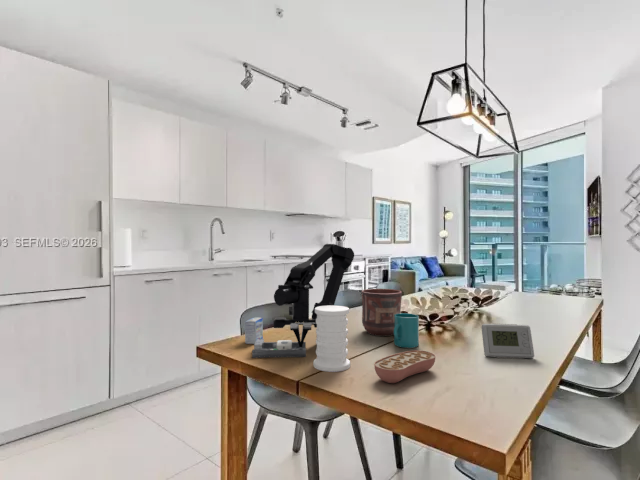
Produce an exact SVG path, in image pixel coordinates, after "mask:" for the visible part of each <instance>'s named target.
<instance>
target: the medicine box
mask: <svg viewBox="0 0 640 480" xmlns="http://www.w3.org/2000/svg"><path fill="white" fill-rule="evenodd" d="M263 322H264V318H263V317H258V316H257V317H255V316H254V317H252V318H249V319H248V320H246V321H244V340H245V341H244V342H245V343H244V344H247V345H254V344H255V342H256V340H257V339H264V336H263V335H264V333H263V331H264V326H263V325H264V323H263Z"/></svg>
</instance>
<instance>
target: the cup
mask: <svg viewBox="0 0 640 480" xmlns="http://www.w3.org/2000/svg"><path fill="white" fill-rule="evenodd" d="M419 320H420V317H419V315H418V314H415V313H407V312H404V313H403V312H401V313H399V314H395V315H394V335H393V338H394V339H393V340H394V341H393V343H394V345H395V346H396V347H399V348H403V349H404V348H405V349H413V348H417V347H418V346H419V345H420V343H419V342H420V336H419V335H420V330H419V327H420V326H419V323H420V321H419Z"/></svg>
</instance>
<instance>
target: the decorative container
mask: <svg viewBox="0 0 640 480" xmlns="http://www.w3.org/2000/svg"><path fill="white" fill-rule="evenodd" d="M315 313H316V314H317V319H316V324H317V328H316V329H315V335H316V339H315V345H316V349H315V354H316V358H315V359H314V360H313V363H312V364H313V365H312V366H313V367H314V369H317V370H318V371H322V372H330V373H336V372H337V373H338V372H343V371H346V370H348V369H349V368H350V367H351V361H350V359H348V358H347V356H348V354H349V351H348V350H349V349H348V348H347V346H348V345H349V344H348V343H349V340H348V338H347V336H348V334H349V329H348V328H347V325H348V323H349V320H348V318H347V315H348V314H349V313H350V308H349V307H348V306H344V305H335V304H334V305H328V306H319V307H315Z"/></svg>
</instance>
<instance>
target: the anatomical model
mask: <svg viewBox="0 0 640 480" xmlns="http://www.w3.org/2000/svg"><path fill="white" fill-rule="evenodd" d="M435 362H436V354H434V353H433V352H429V351H425V350H419V349H417V350H414V349H413V350H407V351H402V352H396V353H394V354H391V355H390V354H389V355H388V356H385V357H382V358H381V359H378V360H376V361H374V363H373V366H374V371H375V374H376V376H377V377H378V378H379V379H380V380H381V381H383V382H384V383H388V384H396V383H399V382H400V381H402V380H404V379H406V378H408V377H411V376H413V375H417V374H420V373H425V372H428V371H429V370H431V368H432V367H434V364H435Z"/></svg>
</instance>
